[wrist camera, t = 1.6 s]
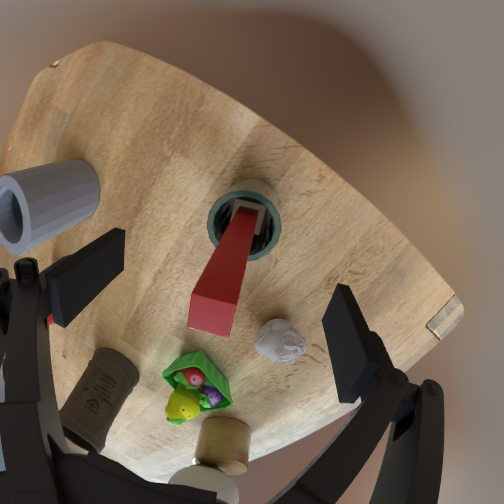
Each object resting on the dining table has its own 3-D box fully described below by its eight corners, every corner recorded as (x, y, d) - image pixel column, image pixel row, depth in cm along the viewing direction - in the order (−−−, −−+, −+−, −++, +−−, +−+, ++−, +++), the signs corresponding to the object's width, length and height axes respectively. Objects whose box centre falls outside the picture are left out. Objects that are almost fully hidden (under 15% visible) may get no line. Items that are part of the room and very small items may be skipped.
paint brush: (241, 190, 31) (179, 276, 11) (267, 196, 31) (254, 296, 11) (235, 215, 33) (173, 333, 12) (261, 222, 33) (238, 350, 12)
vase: (58, 156, 31) (-11, 172, 18) (103, 162, 32) (29, 179, 19) (56, 214, 35) (-6, 245, 22) (98, 225, 35) (34, 265, 22)
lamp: (199, 441, 55) (179, 523, 32) (176, 412, 50) (145, 507, 27) (258, 441, 53) (249, 531, 30) (242, 411, 48) (225, 522, 25)
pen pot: (230, 172, 31) (214, 182, 23) (285, 186, 31) (289, 201, 23) (219, 224, 34) (201, 251, 25) (271, 237, 34) (270, 268, 25)
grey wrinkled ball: (304, 338, 39) (308, 370, 33) (259, 342, 40) (256, 375, 34) (302, 305, 37) (306, 337, 31) (252, 311, 38) (248, 343, 32)
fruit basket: (239, 385, 45) (230, 436, 34) (199, 393, 47) (185, 440, 36) (204, 342, 41) (186, 395, 31) (163, 354, 43) (140, 402, 33)
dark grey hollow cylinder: (96, 336, 44) (43, 413, 26) (144, 363, 45) (101, 449, 27) (95, 374, 50) (58, 437, 32) (135, 396, 51) (103, 465, 33)
